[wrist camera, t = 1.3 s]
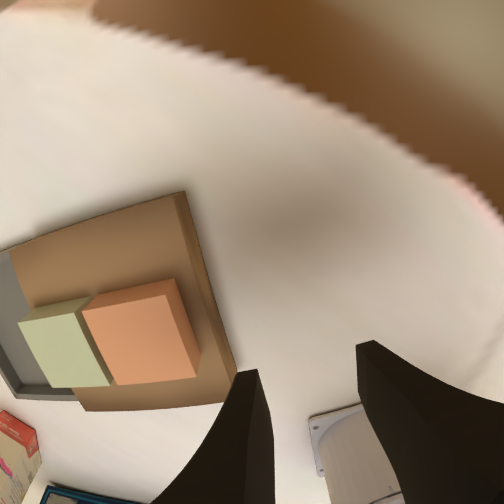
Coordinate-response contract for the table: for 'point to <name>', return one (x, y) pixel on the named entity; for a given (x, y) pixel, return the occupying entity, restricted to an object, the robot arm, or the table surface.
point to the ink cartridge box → (16, 459)
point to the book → (74, 497)
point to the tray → (20, 343)
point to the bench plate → (131, 275)
